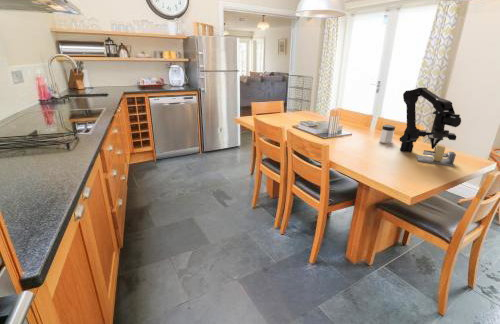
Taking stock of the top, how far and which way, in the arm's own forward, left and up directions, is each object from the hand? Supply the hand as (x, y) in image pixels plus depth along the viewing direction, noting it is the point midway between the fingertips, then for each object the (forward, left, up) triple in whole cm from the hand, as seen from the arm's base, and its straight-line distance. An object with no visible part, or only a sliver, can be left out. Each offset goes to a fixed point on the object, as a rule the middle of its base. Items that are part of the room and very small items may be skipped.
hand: (432, 148), depth 164 cm
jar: (-24, +31, -8) cm, 40 cm away
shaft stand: (+2, 0, -8) cm, 8 cm away
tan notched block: (+4, 0, -6) cm, 7 cm away
